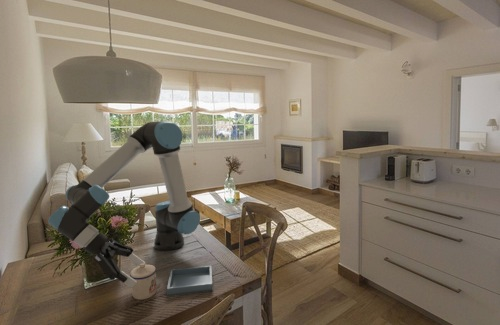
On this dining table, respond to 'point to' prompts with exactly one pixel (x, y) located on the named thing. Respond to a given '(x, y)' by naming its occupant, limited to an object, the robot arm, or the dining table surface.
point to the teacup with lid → (144, 281)
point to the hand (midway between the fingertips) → (138, 274)
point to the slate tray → (190, 280)
